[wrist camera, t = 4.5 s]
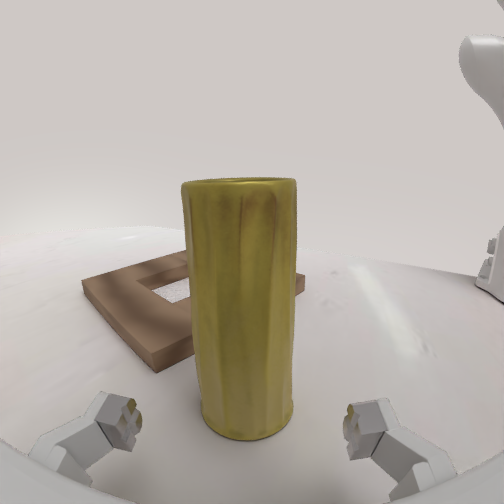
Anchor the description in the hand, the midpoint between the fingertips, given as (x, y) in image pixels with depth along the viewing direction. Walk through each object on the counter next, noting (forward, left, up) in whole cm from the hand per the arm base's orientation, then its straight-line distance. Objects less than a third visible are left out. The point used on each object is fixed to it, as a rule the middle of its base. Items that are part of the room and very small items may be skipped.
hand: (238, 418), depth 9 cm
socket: (-13, -22, -6) cm, 26 cm away
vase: (-5, -4, -7) cm, 9 cm away
